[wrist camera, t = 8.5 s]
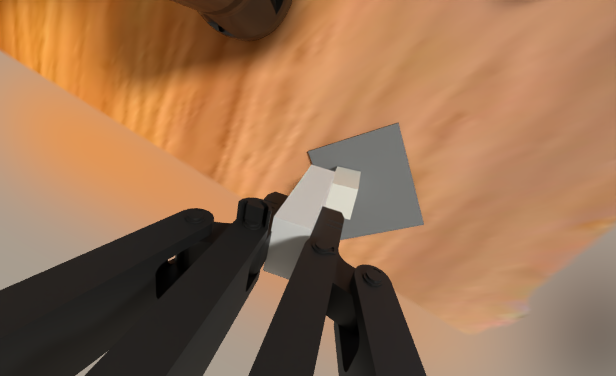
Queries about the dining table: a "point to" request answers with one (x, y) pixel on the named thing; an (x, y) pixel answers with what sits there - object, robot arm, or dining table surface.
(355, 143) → the mat
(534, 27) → the dining table surface
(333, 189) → the white block
